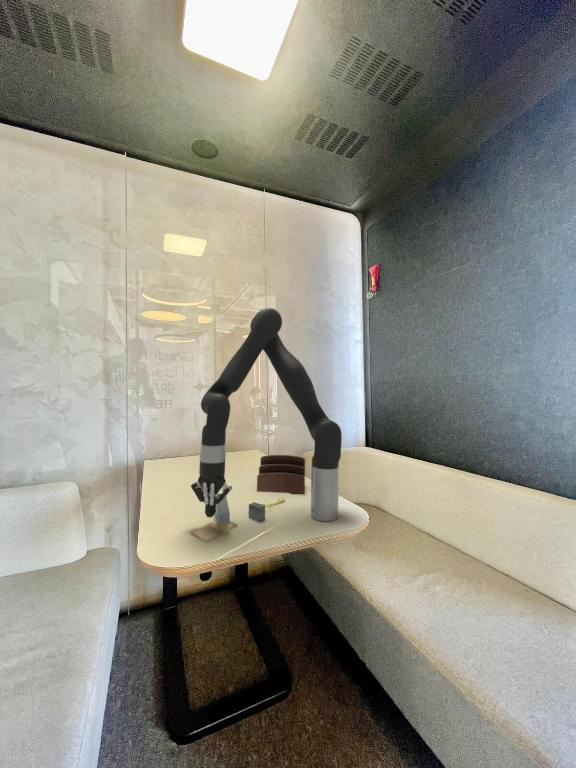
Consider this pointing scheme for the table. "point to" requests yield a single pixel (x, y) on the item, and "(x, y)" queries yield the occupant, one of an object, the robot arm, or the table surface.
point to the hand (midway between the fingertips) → (210, 516)
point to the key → (273, 504)
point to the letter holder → (281, 474)
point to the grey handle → (222, 512)
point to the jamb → (257, 512)
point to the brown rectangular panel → (212, 530)
